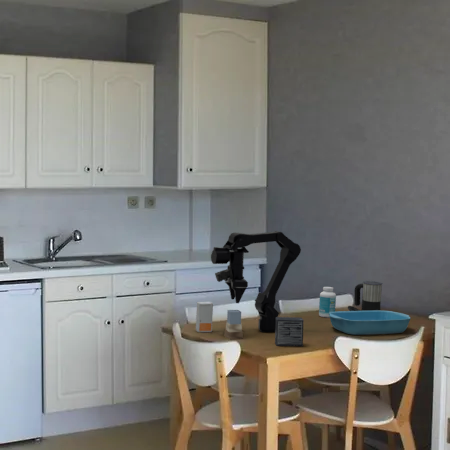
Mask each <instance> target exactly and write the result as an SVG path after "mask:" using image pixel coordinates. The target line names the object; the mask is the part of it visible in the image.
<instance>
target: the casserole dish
mask: <svg viewBox="0 0 450 450" xmlns="http://www.w3.org/2000/svg"><path fill="white" fill-rule="evenodd" d="M329 316H330V318H329V319H330V323H331V325H332V327H333V328H334V329H335V330H337V331H340V332H341V333H344V334H349V335H355V336H357V335H359V336H362V335H363V336H364V335H365V336H366V335H367V336H368V335H388V334H389V335H390V334H402V333H404V332H405V331H406V330H407V328H408V326H409V324H410V321H411V317H410V315H409V314H405V313H403V312H397V311H391V310H381V309H380V310H373V311H362V310H361V311H349V310H343V311H341V310H340V311H339V310H338V311H336V310H335V312H330V313H329Z"/></svg>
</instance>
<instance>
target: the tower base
mask: <svg viewBox="0 0 450 450" xmlns="http://www.w3.org/2000/svg"><path fill="white" fill-rule="evenodd" d="M243 336H244V331H242V332H228V331H227V330H226V329H224V338H225V339H229V340H240V339H243V338H244V337H243Z"/></svg>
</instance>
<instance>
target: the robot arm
mask: <svg viewBox="0 0 450 450" xmlns="http://www.w3.org/2000/svg"><path fill="white" fill-rule="evenodd" d="M271 242H275V243H276V244H277V245H278V247H279V248H280V253H279V260H278V263H277V266H276V267H275V269H274V272H273V274H272V276H271V278H270V280H269V282H268V284H267V286H266V289H265V290H264V291H263V292H258V293H257V296H256V298H255V299H254V307H255V310H256V311H257V313H258V315H259V319H258V321H257V322H258V323H257V325H258V327H257V328H258V330H259V331H260V332H261V333H275V325H276V317H279V315H280V312H279V311H277V309H276V308H275V304H276V296H277V293H278V291H279V289H280V287H281V284H282V283H283V280H284V279H285V277H286V274H287V272H288V270H289V268H290V266H291V265H292V263H294V262H295V260H297V258H298V257H299V255H300V254H301V251H302V249H301V246H300V245H299V243H296V242H294V241H293V240H292V239H290V238H289V237H288V236H286V235H285V233H283V232H282V231H278V230H274V231H271V232H268V231H267V232H258V233H243V232H231V233H230V235H229V236H228V239H227V241H226V242H225V244H224V245H223V246H222V247H219V246H214V247H213V249H212V252H211V254H210V260H211V264H212V265H227V264H228V263H229V264H228V265H227V269H222V270H220V271H217V272H215V273H214V276H215V278H216V280H217V282H218V283H221V282H223V281H224V283H225V284H226V285H227V286H228V289H229V294H230V299H231V300H235V303H236V304H240V302H241V300H242V298H243V295H244V294H245V292H246V290H247V289H248V287H249V282H248V281H247V280H246V279H245V277H244V270H245V266H244V254H248V253H249V252H250V251H249V250H248V249H247V248H246V247H247V246H250V245H254V244H260V243H261V244H262V243H271Z"/></svg>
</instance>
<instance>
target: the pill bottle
mask: <svg viewBox="0 0 450 450" xmlns="http://www.w3.org/2000/svg"><path fill="white" fill-rule="evenodd" d="M322 290H323V291H322V292H320V293H319V305H318V315H319V317H322V318H328V319H330V316H329V313H330V312H336V303H337V301H336V300H337V299H336V298H337V296H336V295H337V294H336V292H334V287H333V286H332V287H331V286H323V287H322Z"/></svg>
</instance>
